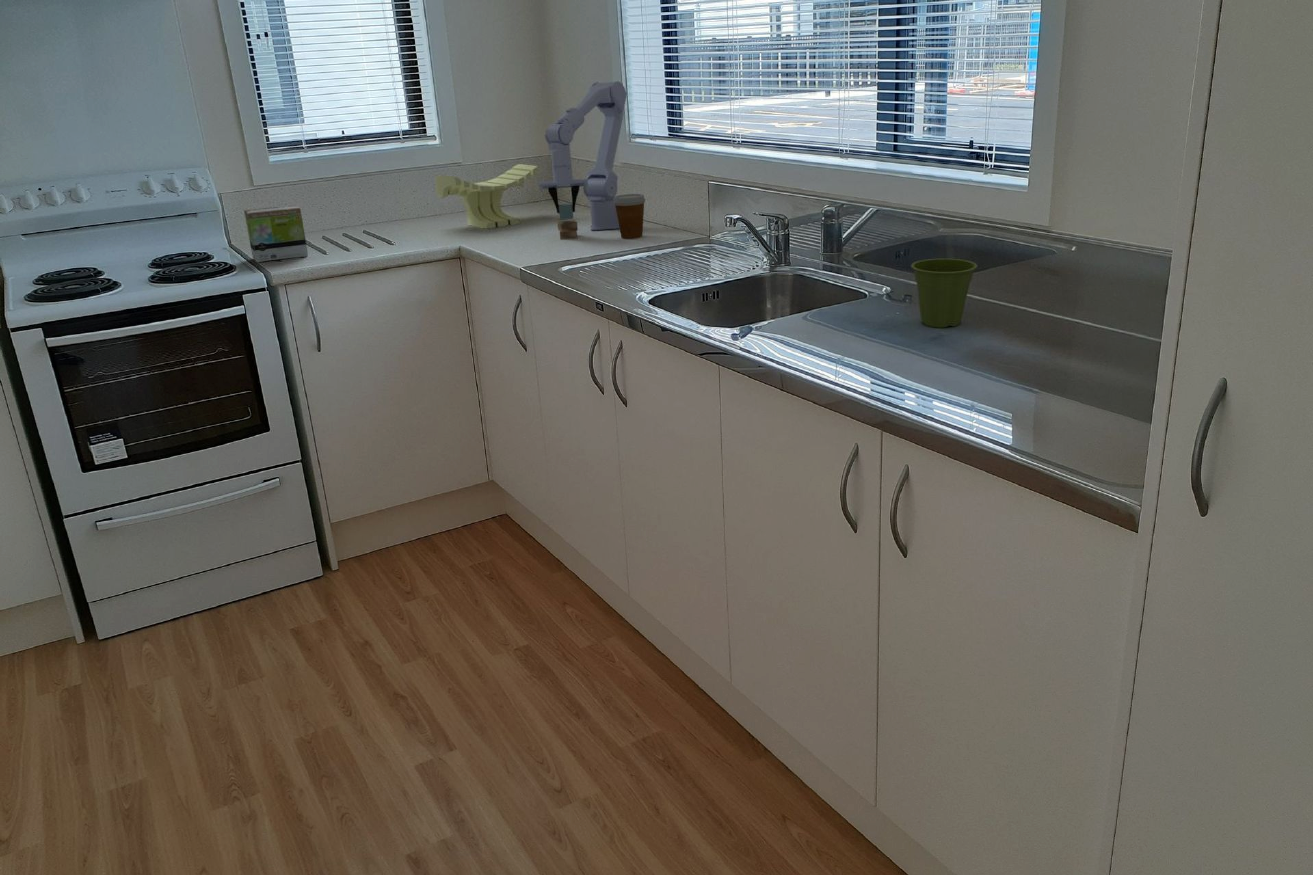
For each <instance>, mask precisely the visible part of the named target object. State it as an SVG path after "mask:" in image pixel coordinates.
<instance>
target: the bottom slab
mask: <svg viewBox="0 0 1313 875" xmlns="http://www.w3.org/2000/svg"><path fill="white" fill-rule="evenodd" d="M559 238H560V240H569V239H570V238H572V239H578V230H577V231H568V232H561V231H559Z"/></svg>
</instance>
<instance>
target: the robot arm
mask: <svg viewBox="0 0 1313 875" xmlns="http://www.w3.org/2000/svg"><path fill="white" fill-rule="evenodd" d="M587 92H588V93H586V95H585V96H584V97H583V99H582V100H581V101H580V102H579V104H578V105H577V106H576V107H570V108H569V107H568V108H566V110H565V113H564V114H563V115H562V116H561V117H560V118H557V120H556V122H555V123H551V124H549V126H547V128H546V130H545V134H544V137H545V138H544V139H545V141H546V143H547V144H548V149H549V151H550V157H551V166H552V167H551V168H552V179H553V180H552V181H551V180H549V181H542V182H541V181H540V182H538V187H539V190H548V194H549V195H550V197H551V199H552V201H553V203H554V206H555V209H556V214H559V197H558V196H559V195H558V189H563V188H564V189H565V188H570V189H571V190H570V192H571V200H572V210H573V213H576V202H577V200H578V195H579V193H580V187H582V191H583V193H584V195H585V197H586V198H587V201H589V208H590V218H591V219H590V220H591V224H590V230H591V231H602V230H603V231H604V230H616V229H617V230H618V229H620V228H619V223H618V218H617V212H616V208H615V205H614V203H613V201H614V198H615V196H617V192H618V178H619V176H618V175H617V174H616V173H615V172H614V170H613V167H614V163H615V158H616V153H617V148H618V143H619V138H620V134H621V129H622V124H623V121H624V120H623V118H624V110H625V105H626V99H627V94H628V93H627V91H626V88H625V85H624V84H623V82H621V81H619V80H618V81H611V82H610V81H609V82H608V81H606V82H599V81H598V82H597V81H596V82H594V83H593V84H592V85H590V86H589V87H588V91H587ZM595 107H597V109H598V110H599V111H600V113H602V114H603V115H604V121H603V125H602V131H601V135H600V140H599V145H598V151H597V156H596V160H595V164H594V166H593V167H592V168H590V170H589V171H588V172H587V175H586V178H584V179H583V178H582V179H580V178H579V179H573V169H572V156H571V145H570V143H572V141H573V139H574V135H575V133H576V132H577V130H579V128H580V127H581V126H582V125H583V124H584V123H585V116H586V115H588V114H589V113H590V112H591V111H592V110H594V109H595Z"/></svg>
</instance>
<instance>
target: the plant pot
mask: <svg viewBox="0 0 1313 875" xmlns="http://www.w3.org/2000/svg"><path fill="white" fill-rule="evenodd" d="M910 267H911V269H913V270H914V279H915V281H916V287H917V295H918V303H919V312H920V319H921V320H920V321H921V324H924V325H925V326H927V327H931V328H939V329H943V328H948V327H949V326H950V327H951V326H952V327H957V326H959V325H961V322H962V319H963V314H964V309H965V304H966V300H967V297H968V293H969V292H968V291H969V288H970V283H971V282H972V280H973V275H974V271H975V270H976V269H977V268H978V264H977V263H976V262H973V261H970V260H966V259H958V258H930V259H928V258H927V259H922V260H917V261H914V262H912V263H911V265H910Z"/></svg>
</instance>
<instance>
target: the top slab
mask: <svg viewBox="0 0 1313 875" xmlns="http://www.w3.org/2000/svg"><path fill="white" fill-rule="evenodd" d="M557 230H558V231H559V232H560V231H561V232H568V231H577V232H578V230H579V228H578V221H577V220H574V219H567V220H560V221H557Z"/></svg>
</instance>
